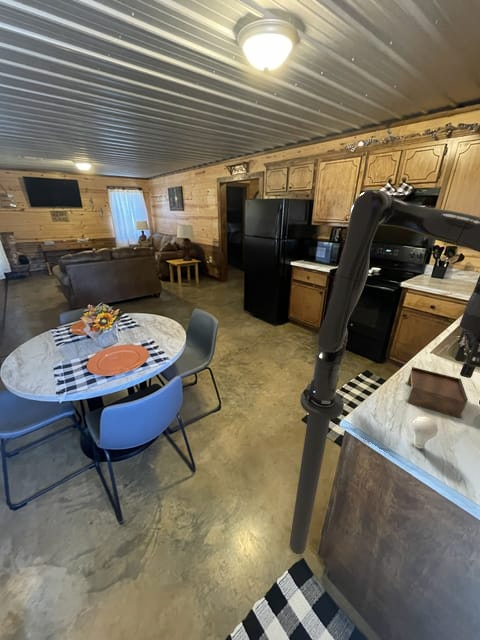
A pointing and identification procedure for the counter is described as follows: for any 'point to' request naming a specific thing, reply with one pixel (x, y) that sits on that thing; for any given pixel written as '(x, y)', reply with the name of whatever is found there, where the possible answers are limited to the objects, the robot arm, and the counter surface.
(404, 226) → the robot arm
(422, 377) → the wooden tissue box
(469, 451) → the counter surface
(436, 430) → the lightbulb
